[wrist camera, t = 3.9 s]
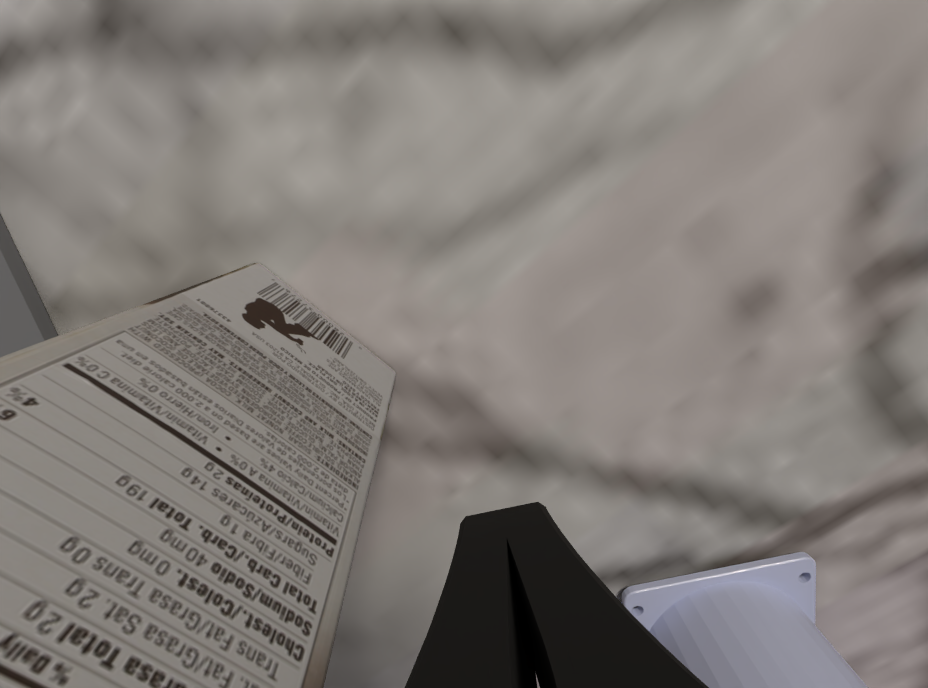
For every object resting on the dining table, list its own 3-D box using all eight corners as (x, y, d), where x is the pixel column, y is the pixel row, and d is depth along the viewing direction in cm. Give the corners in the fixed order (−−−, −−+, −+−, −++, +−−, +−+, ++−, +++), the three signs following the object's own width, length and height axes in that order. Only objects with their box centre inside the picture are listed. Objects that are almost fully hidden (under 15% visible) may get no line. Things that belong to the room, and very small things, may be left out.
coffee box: (256, 537, 20) (-410, 1807, 4) (107, 442, 18) (-1753, 1860, 3) (406, 371, 18) (192, 1519, 2) (254, 251, 16) (-2620, 1231, 1)
